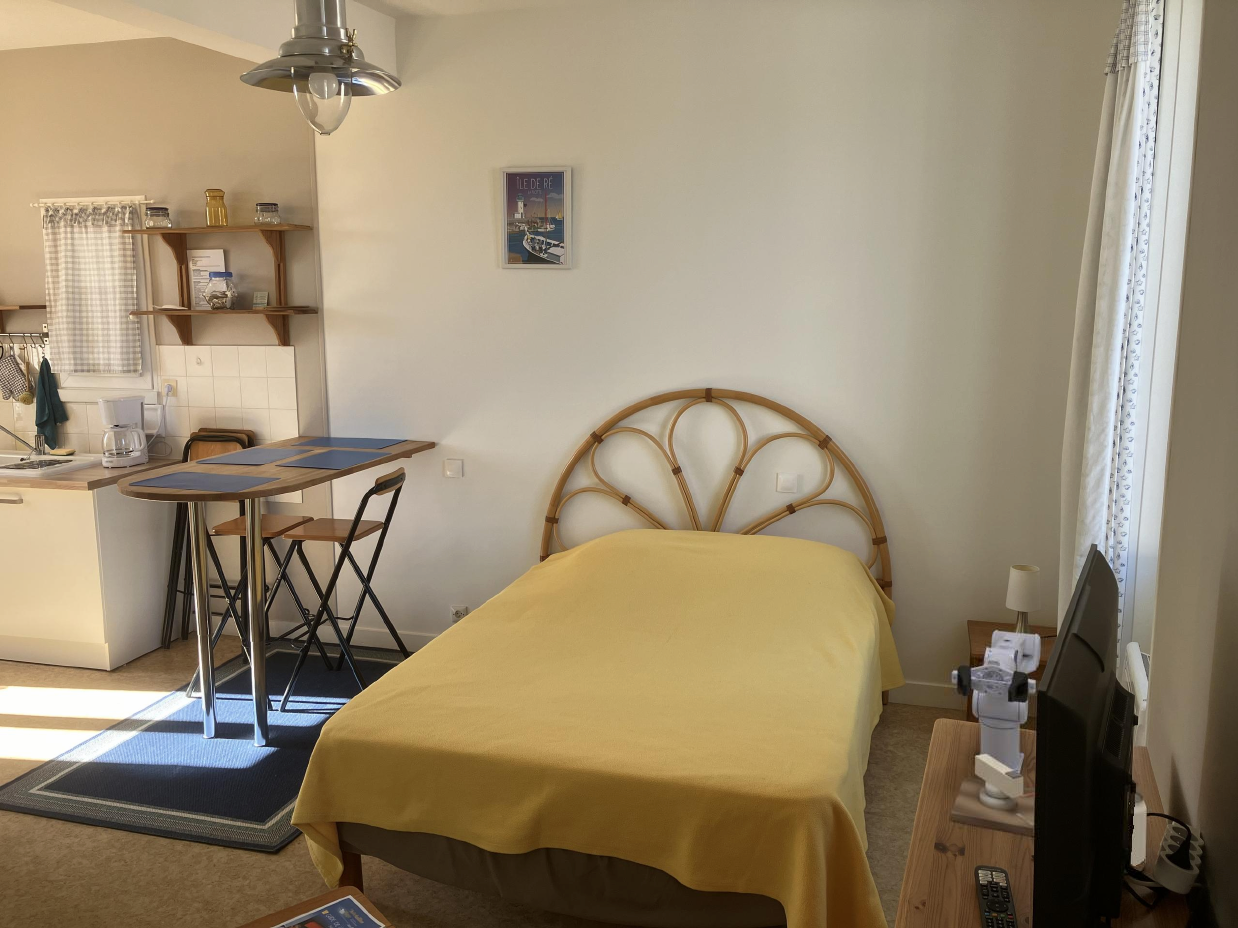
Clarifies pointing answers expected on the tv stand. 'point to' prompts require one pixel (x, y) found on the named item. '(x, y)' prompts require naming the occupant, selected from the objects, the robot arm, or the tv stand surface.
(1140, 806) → the can
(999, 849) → the tv stand surface
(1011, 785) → the lock handle
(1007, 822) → the base
